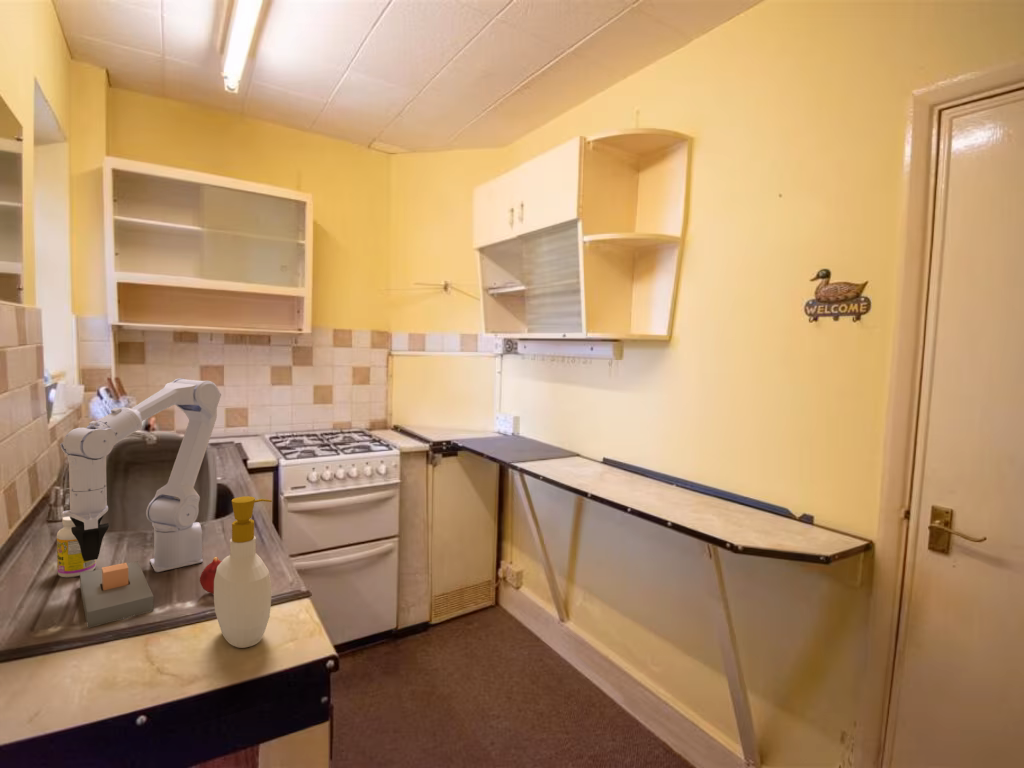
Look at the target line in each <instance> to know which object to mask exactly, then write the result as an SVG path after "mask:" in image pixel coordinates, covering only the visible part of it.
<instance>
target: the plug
mask: <svg viewBox="0 0 1024 768" xmlns="http://www.w3.org/2000/svg"><path fill="white" fill-rule="evenodd" d="M127 563H128V562H123V563H118V564H113V565H108V566H102V567H101V569H102V591H103V590H108V589H112V588H116V587H121V586H125V585H128V566H127Z"/></svg>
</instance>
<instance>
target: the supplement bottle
mask: <svg viewBox="0 0 1024 768" xmlns="http://www.w3.org/2000/svg"><path fill="white" fill-rule="evenodd" d="M61 520H62V521H61V522H62V526H63V527H62V528H61V529H59V530H58V531H57V533H56V554H57V555H56V559H57V560H56V562H57V564H56V565H57V575H58V576H59V577H61V578H75V577H80V573H83V572H88V571H93V570H96V567H97V559H95V560H90V561H84V560H83V557H82V554H81V549H80V545H79V543H78V541H77V539H76V537H75V536H74V535H73V533H72V531H71V528H72V527H75V525H74V523H73V522H72V520H71V519H70V517H62V519H61Z"/></svg>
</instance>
